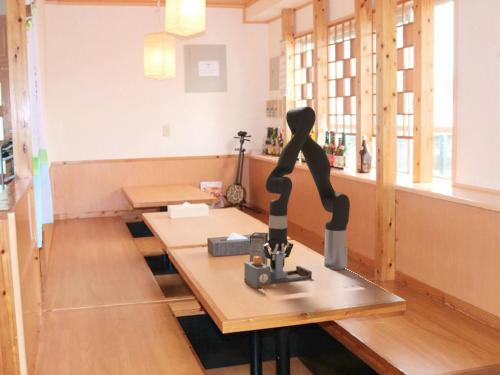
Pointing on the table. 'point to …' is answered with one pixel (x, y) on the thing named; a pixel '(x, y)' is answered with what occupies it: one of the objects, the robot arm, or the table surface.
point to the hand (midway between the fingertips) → (277, 268)
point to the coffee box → (258, 246)
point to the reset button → (257, 260)
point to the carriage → (278, 268)
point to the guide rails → (289, 278)
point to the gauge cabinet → (257, 273)
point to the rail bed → (288, 276)
